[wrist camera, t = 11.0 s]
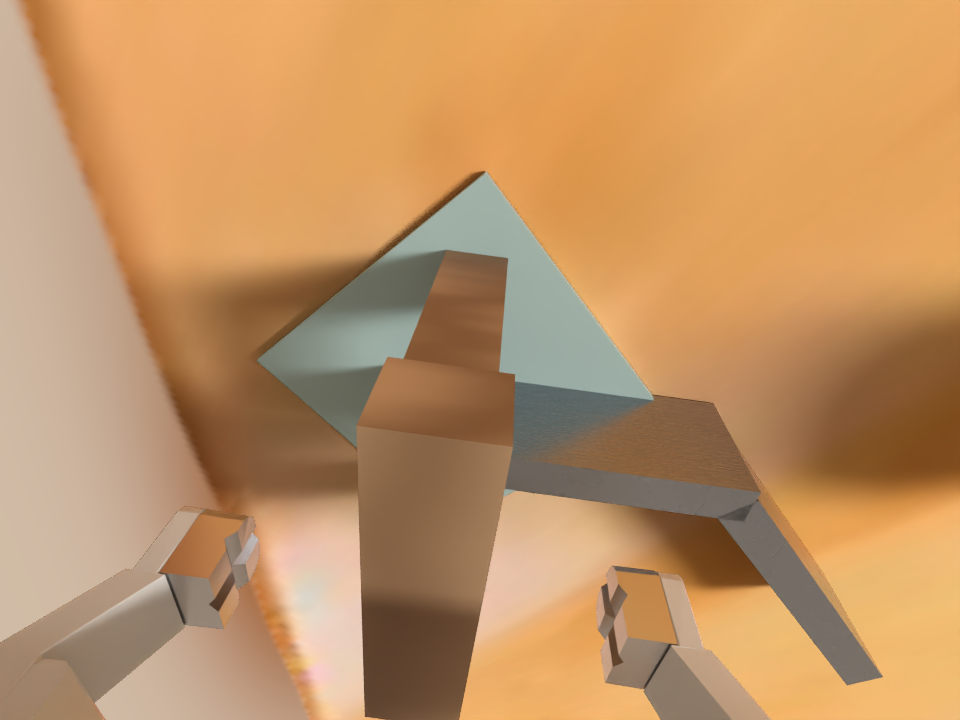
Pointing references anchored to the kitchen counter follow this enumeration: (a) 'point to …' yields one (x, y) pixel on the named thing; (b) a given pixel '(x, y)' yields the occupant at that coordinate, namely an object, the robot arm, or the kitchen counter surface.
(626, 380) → the pad
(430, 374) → the arch
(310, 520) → the kitchen counter surface
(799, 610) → the rail
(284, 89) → the kitchen counter surface
